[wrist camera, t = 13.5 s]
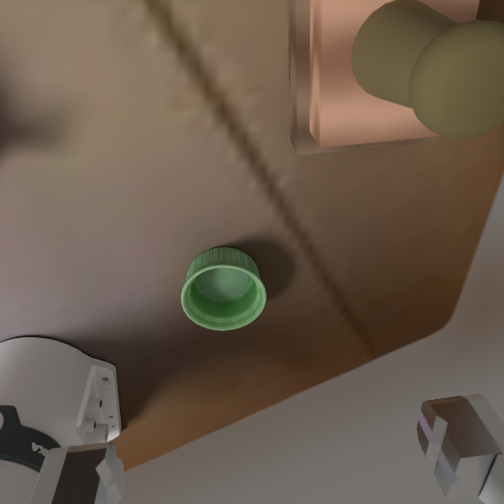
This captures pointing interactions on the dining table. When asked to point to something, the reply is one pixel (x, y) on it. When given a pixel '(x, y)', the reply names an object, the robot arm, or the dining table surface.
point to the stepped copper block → (345, 79)
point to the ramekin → (223, 290)
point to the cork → (433, 67)
